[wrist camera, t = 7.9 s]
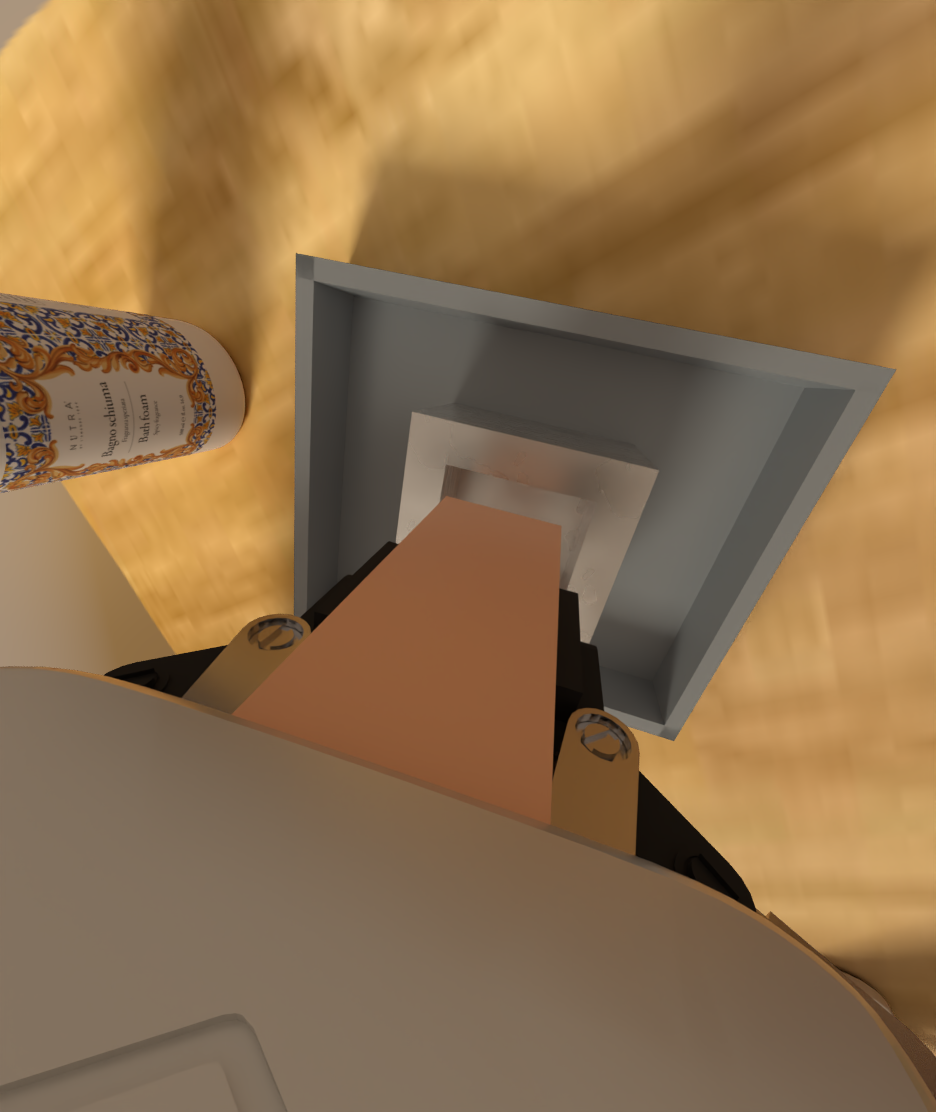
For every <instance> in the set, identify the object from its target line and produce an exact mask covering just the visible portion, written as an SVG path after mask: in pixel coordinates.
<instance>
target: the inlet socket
mask: <svg viewBox="0 0 936 1112" xmlns="http://www.w3.org/2000/svg"><path fill="white" fill-rule="evenodd" d="M658 472H659V469H658V468H657V467H656V466H655V465H654V464H653V463H652V462H651V461H650V460H649V459H648V458H647V457H646V456H645V455H644V454H643V453H642V452H641V451H640V450H639V449H638V448H637V447H636V446H635V445H634V444H630V443H625V442H621V441H617V440H612V439H608V438H604V437H600V436H595V435H591V434H587V433H582V432H578V431H574V430H569V429H565V428H561V427H556V426H552V425H548V424H543V423H539V422H535V421H530V420H526V419H522V418H517V417H513V416H509V415H504V414H500V413H496V412H491V411H487V410H483V409H479V408H474V407H470V406H466V405H461V404H457V403H450V404H445V405H441V406H436V407H431V408H427V409H422V410H417V411H413V412H412V416H411V424H410V432H409V440H408V448H407V456H406V464H405V472H404V480H403V488H402V496H401V503H400V511H399V519H398V527H397V535H396V543H398V544H399V543H400V542H401V541H402V540H403V539H404V538H405V537H406V536H407V535H408V534H409V533H410V532H411V531H412V530H413V529H414V528H415V527H416V526H417V525H418V524H419V523H420V522H421V521H422V520H423V519H424V518H425V517H426V516H427V515H428V514H429V513H430V512H431V511H432V510H433V509H434V508H435V507H436V506H437V505H438V504H439V503H440V502H441V501H442V500H443V499H444V498H445V497H446V496H448V497H452V498H456V499H460V500H464V501H468V502H472V503H475V504H479V505H483V506H487V507H491V508H495V509H499V510H502V511H506V512H510V513H514V514H518V515H522V516H526V517H529V518H533V519H537V520H541V521H545V522H549V523H553V524H556V525H560V526H562V527H561V554H560V582H559V588H561V589H564V590H568V591H572V592H575V593H578V598H579V618H580V639H581V642H585V643H588V644H589V643H590V640H591V638H592V635H593V633H594V630H595V628H596V626H597V623H598V621H599V618H600V616H601V613H602V611H603V608H604V606H605V603H606V601H607V598H608V596H609V593H610V591H611V588H612V586H613V584H614V581H615V579H616V576H617V574H618V571H619V569H620V566H621V564H622V561H623V559H624V556H625V554H626V551H627V549H628V547H629V544H630V542H631V539H632V537H633V534H634V532H635V529H636V527H637V524H638V522H639V519H640V517H641V514H642V512H643V509H644V507H645V505H646V502H647V500H648V497H649V495H650V492H651V490H652V487H653V485H654V482H655V480H656V477H657V475H658Z"/></svg>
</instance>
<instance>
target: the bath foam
mask: <svg viewBox="0 0 936 1112" xmlns="http://www.w3.org/2000/svg"><path fill="white" fill-rule="evenodd" d="M244 413H245V395H244V389H243V385H242V381H241V378H240V375H239V373H238V370H237V368H236V366H235V364H234V362H233V361H232V359H231V357H230V356H229V354H228V353H227V352H226V350H225V349H224V348H223V347H222V345H221V344H220V343H219V342H218V341H217V340H216V339H215V338H214V337H212V336H211V335H210V334H209V333H207V332H206V331H204V330H203V329H201V328H199V327H197V326H195V325H192V324H190V323H187V322H184V321H180V320H175V319H168V318H162V317H155V316H149V315H145V314H138V313H131V312H124V311H118V310H111V309H104V308H98V307H91V306H84V305H77V304H71V303H64V302H57V301H50V300H44V299H37V298H30V297H23V296H17V295H10V294H3V293H0V493H3V492H8V491H13V490H18V489H23V488H27V487H33V486H38V485H42V484H48V483H53V482H58V481H63V480H68V479H72V478H77V477H82V476H87V475H92V474H97V473H102V472H107V471H112V470H117V469H122V468H127V467H132V466H137V465H142V464H146V463H151V462H156V461H161V460H166V459H171V458H176V457H181V456H186V455H190V454H194V453H199V452H204V451H209V450H213V449H217V448H220V447H222V446H224V445H226V444H227V443H229V442H230V441H231V440H232V439H233V438H234V437H235V436H236V434H237V433H238V431H239V429H240V427H241V425H242V422H243V419H244Z"/></svg>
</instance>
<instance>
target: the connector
mask: <svg viewBox="0 0 936 1112" xmlns="http://www.w3.org/2000/svg"><path fill="white" fill-rule="evenodd" d="M561 527H562V526H560V525H556V524H553V523H549V522H545V521H541V520H537V519H533V518H529V517H526V516H522V515H518V514H514V513H510V512H506V511H502V510H499V509H495V508H491V507H487V506H483V505H479V504H475V503H472V502H468V501H464V500H460V499H456V498H452V497H448V496H446V497H445V498H444V499H443V500H442V501H441V502H440V503H439V504H438V505H437V506H436V507H435V508H434V509H433V510H432V511H431V512H430V513H429V514H428V515H427V516H426V517H425V518H424V519H423V520H422V521H421V522H420V523H419V524H418V525H417V526H416V527H415V528H414V529H413V530H412V531H411V532H410V533H409V534H408V535H407V536H406V537H405V538H404V539H403V540H402V541H401V542H400V543H399V544H398V546H397V547H396V548H395V549H394V550H393V551H392V552H391V553H390V554H389V555H388V556H387V557H386V558H385V559H384V560H383V561H382V562H381V563H380V564H379V565H378V566H377V567H376V568H375V569H374V570H373V571H372V572H371V573H370V574H369V575H368V576H367V577H366V578H365V579H364V580H363V581H362V582H361V583H360V584H359V585H358V586H357V587H356V588H355V589H354V590H353V591H352V592H351V593H350V594H349V595H348V596H347V597H346V598H345V599H344V600H343V601H342V602H341V603H340V605H339V606H338V607H337V608H336V609H335V610H334V611H333V612H332V613H331V614H330V615H329V616H328V617H327V618H326V619H325V620H324V621H323V622H322V623H321V624H320V625H319V626H318V627H317V628H316V629H315V630H314V631H313V632H312V633H311V634H310V635H309V636H308V637H307V638H306V639H305V640H304V641H303V642H302V643H301V644H300V645H299V646H298V647H297V648H296V649H295V650H294V651H293V652H292V653H291V654H290V655H289V656H288V657H287V658H286V659H285V660H284V661H283V663H282V664H281V665H280V666H279V667H278V668H277V669H276V670H275V671H274V672H273V673H272V674H271V675H270V676H269V677H268V678H267V679H266V680H265V681H264V682H263V683H262V684H261V685H260V686H259V687H258V688H257V689H256V690H255V691H254V692H253V693H252V694H251V695H250V696H249V697H248V698H247V699H246V700H245V701H244V702H243V703H242V704H241V705H240V706H239V707H238V708H237V709H236V710H235V711H234V712H233V713H232V714H231V715H234V716H237V717H240V718H243V719H246V720H249V721H252V722H255V723H258V724H261V725H264V726H266V727H269V728H272V729H275V730H278V731H281V732H284V733H287V734H290V735H293V736H296V737H299V738H302V739H305V740H308V741H311V742H314V743H317V744H320V745H322V746H325V747H328V748H331V749H334V750H337V751H340V752H343V753H346V754H349V755H351V756H354V757H357V758H360V759H363V760H366V761H369V762H372V763H375V764H378V765H381V766H383V767H386V768H389V769H392V770H395V771H398V772H401V773H404V774H407V775H409V776H412V777H415V778H418V779H421V780H424V781H427V782H430V783H433V784H435V785H438V786H441V787H444V788H447V789H450V790H453V791H456V792H458V793H461V794H464V795H467V796H470V797H473V798H475V799H478V800H481V801H484V802H487V803H490V804H492V805H495V806H498V807H501V808H504V809H507V810H510V811H512V812H515V813H518V814H521V815H524V816H527V817H529V818H532V819H535V820H538V821H541V822H544V823H547V824H549V825H551V801H552V774H553V746H554V719H555V691H556V664H557V637H558V609H559V582H560V554H561Z"/></svg>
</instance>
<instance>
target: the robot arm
mask: <svg viewBox="0 0 936 1112" xmlns="http://www.w3.org/2000/svg"><path fill="white" fill-rule="evenodd" d="M397 546H398V543H394V542H391V541H388V542H387V543H386V544H385V545H384V546H383V547H382V548H381V549H380V550H378V551H377V552H376V553H375V554H374V555H373V556H372V557H371V558H370V559H369V560H368V561H367V562H366V563H365V564H364V565H363V566H362V567H360V568H359V569H358V570H357V571H356V572H355V573H354V574H353V575H346V576H345V577H343V578H342V579H341V580H340V581H339V582H338V583H337V584H336V585H335V586H334V587H332V588H331V589H330V590H329V591H328V592H327V593H326V594H325V595H324V596H323V597H322V598H320V599H319V600H318V601H317V602H316V603H315V604H314V605H313V606H312V607H311V608H310V609H308V610H307V611H306V612H305V613H304V614H303V615H302V616H301V617H300V618H299V617H297V616H293V615H289V614H272V615H267V616H263V617H259V618H257V619H255V620H253V621H251V622H249V623H248V624H247V625H246V626H245V627H243V628H242V630H241V631H240V632H239V633H238V634H237V635H236V636H235V638H234V639H233V640H232V641H231V642H230V643H229V644H228V645H225V646H220V647H215V648H210V649H204V650H199V651H194V652H188V653H183V654H178V655H173V656H168V657H162V658H157V659H151V660H146V661H141V662H136V663H132V664H128V665H125V666H122V667H119V668H117V669H114V670H112V671H110V672H108V673H106V674H105V675H98V674H93V673H88V672H83V671H78V670H70V669H61V668H51V667H19V666H18V667H17V666H15V667H13V666H8V667H0V1112H936V1057H935V1056H934V1054H933V1053H932V1052H931V1051H930V1050H929V1049H928V1048H927V1047H926V1046H925V1045H924V1044H923V1043H922V1042H921V1041H920V1040H919V1039H918V1038H917V1037H916V1036H915V1035H914V1034H913V1033H912V1032H911V1031H910V1030H909V1029H908V1028H907V1027H906V1026H904V1025H903V1024H902V1023H901V1022H900V1021H899V1020H897V1019H896V1018H895V1017H894V1015H893V1013H892V1011H891V1009H890V1007H889V1005H888V1004H887V1002H886V1001H885V999H884V998H883V997H882V996H881V995H880V994H879V993H878V992H877V991H876V990H874V989H873V988H871V987H870V986H868V985H867V984H866V983H864V982H863V981H861V980H859V979H857V978H855V977H853V976H851V975H849V974H847V973H844V972H842V971H840V970H839V969H838V968H836V967H835V966H834V965H833V964H832V963H831V962H829V961H828V960H827V959H826V958H825V957H823V956H822V955H821V954H820V953H819V952H818V951H816V950H815V949H814V948H813V947H812V946H811V945H809V944H808V943H807V942H806V941H805V940H804V939H802V938H801V937H800V936H799V935H798V934H796V933H795V932H794V931H793V930H792V929H791V928H789V927H788V926H787V925H786V924H785V923H784V922H782V921H781V920H780V919H779V918H778V917H777V916H775V915H774V914H773V913H772V912H771V911H770V912H769V913H768V914H767V915H766V916H764V915H763V914H762V913H761V912H760V911H759V910H757V909H756V908H755V905H754V902H753V899H752V897H751V894H750V892H749V890H748V889H747V887H746V885H745V884H744V882H743V880H742V878H741V877H740V876H739V875H738V873H737V872H736V871H735V870H734V869H733V867H732V866H731V865H730V864H729V863H728V862H727V861H726V860H725V859H724V858H723V857H722V856H721V855H720V853H719V852H718V851H717V850H716V849H715V848H714V847H713V846H712V845H711V844H710V843H709V842H708V841H707V840H706V839H705V838H704V837H703V836H702V835H701V834H700V833H699V832H698V831H697V830H696V829H695V828H694V827H693V826H692V825H691V824H690V823H689V822H688V821H687V820H686V819H685V818H684V816H683V815H682V814H681V813H680V812H679V811H678V810H677V809H676V808H675V807H674V806H673V805H672V804H671V803H670V802H669V801H668V800H667V799H666V798H665V797H664V796H663V795H662V794H661V793H660V792H659V791H658V790H657V789H656V788H655V787H654V786H653V785H652V784H651V783H650V782H649V780H648V779H647V778H646V777H645V776H644V775H643V774H642V773H641V772H640V771H639V756H640V752H639V746H638V742H637V740H636V738H635V736H634V734H633V733H632V732H631V731H630V729H629V728H628V727H627V726H626V725H625V724H624V723H623V722H621V721H620V720H619V719H618V718H616V717H615V716H613V715H611V714H609V713H607V712H605V711H604V704H603V694H602V685H601V676H600V667H599V657H598V650H597V647H596V646H595V645H592V644H588V643H585V642H581V639H580V618H579V598H578V593H575V592H572V591H568V590H564V589H561V588H559V609H558V637H557V664H556V691H555V719H554V746H553V774H552V801H551V825H549V824H547V823H544V822H541V821H538V820H535V819H532V818H529V817H527V816H524V815H521V814H518V813H515V812H512V811H510V810H507V809H504V808H501V807H498V806H495V805H492V804H490V803H487V802H484V801H481V800H478V799H475V798H473V797H470V796H467V795H464V794H461V793H458V792H456V791H453V790H450V789H447V788H444V787H441V786H438V785H435V784H433V783H430V782H427V781H424V780H421V779H418V778H415V777H412V776H409V775H407V774H404V773H401V772H398V771H395V770H392V769H389V768H386V767H383V766H381V765H378V764H375V763H372V762H369V761H366V760H363V759H360V758H357V757H354V756H351V755H349V754H346V753H343V752H340V751H337V750H334V749H331V748H328V747H325V746H322V745H320V744H317V743H314V742H311V741H308V740H305V739H302V738H299V737H296V736H293V735H290V734H287V733H284V732H281V731H278V730H275V729H272V728H269V727H266V726H264V725H261V724H258V723H255V722H252V721H249V720H246V719H243V718H240V717H237V716H234V715H231V714H232V713H233V712H234V711H235V710H236V709H237V708H238V707H239V706H240V705H241V704H242V703H243V702H244V701H245V700H246V699H247V698H248V697H249V696H250V695H251V694H252V693H253V692H254V691H255V690H256V689H257V688H258V687H259V686H260V685H261V684H262V683H263V682H264V681H265V680H266V679H267V678H268V677H269V676H270V675H271V674H272V673H273V672H274V671H275V670H276V669H277V668H278V667H279V666H280V665H281V664H282V663H283V661H284V660H285V659H286V658H287V657H288V656H289V655H290V654H291V653H292V652H293V651H294V650H295V649H296V648H297V647H298V646H299V645H300V644H301V643H302V642H303V641H304V640H305V639H306V638H307V637H308V636H309V635H310V634H311V633H312V632H313V631H314V630H315V629H316V628H317V627H318V626H319V625H320V624H321V623H322V622H323V621H324V620H325V619H326V618H327V617H328V616H329V615H330V614H331V613H332V612H333V611H334V610H335V609H336V608H337V607H338V606H339V605H340V603H341V602H342V601H343V600H344V599H345V598H346V597H347V596H348V595H349V594H350V593H351V592H352V591H353V590H354V589H355V588H356V587H357V586H358V585H359V584H360V583H361V582H362V581H363V580H364V579H365V578H366V577H367V576H368V575H369V574H370V573H371V572H372V571H373V570H374V569H375V568H376V567H377V566H378V565H379V564H380V563H381V562H382V561H383V560H384V559H385V558H386V557H387V556H388V555H389V554H390V553H391V552H392V551H393V550H394V549H395V548H396V547H397Z"/></svg>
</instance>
